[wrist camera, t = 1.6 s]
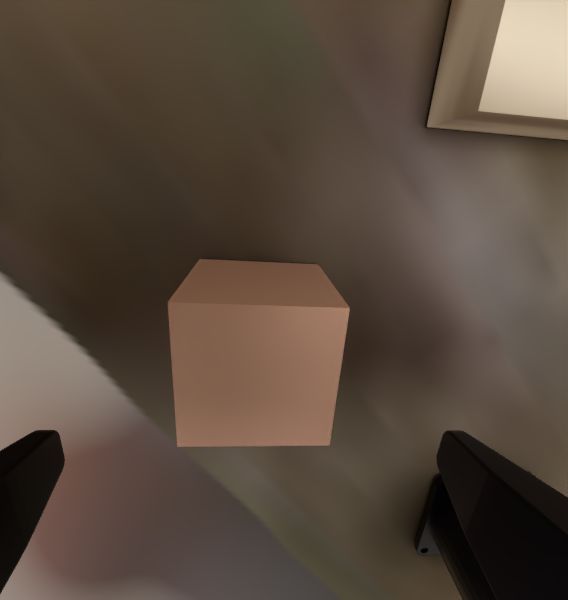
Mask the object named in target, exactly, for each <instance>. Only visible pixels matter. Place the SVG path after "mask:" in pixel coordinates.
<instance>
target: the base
mask: <svg viewBox="0 0 568 600" xmlns="http://www.w3.org/2000/svg"><path fill="white" fill-rule="evenodd" d="M427 127H431V128H442V129H453V130H464V131H475V132H486V133H497V134H507V135H518V136H529V137H540V138H551V139H562V140H568V0H452V3H451V8H450V13H449V18H448V23H447V28H446V33H445V38H444V43H443V48H442V53H441V58H440V63H439V68H438V73H437V78H436V83H435V88H434V93H433V98H432V103H431V108H430V113H429V118H428V123H427Z"/></svg>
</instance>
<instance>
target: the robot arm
mask: <svg viewBox="0 0 568 600" xmlns="http://www.w3.org/2000/svg"><path fill="white" fill-rule="evenodd" d="M64 461H65V458H64V453H63V448H62V444H61V440H60V435H59V433H58V432H57V431H55V430H37V431H34V432H32V433H30V434H28V435H27V436H25V437H23V438H22V439H20V440H18V441H16V442H15V443H13V444H11V445H9V446H8V447H6V448H4V449H2V450H1V451H0V594H1V592H2V590H3V588H4V586H5V585H6V583H7V581H8V579H9V578H10V576H11V574H12V572H13V570H14V569H15V567H16V565H17V564H18V562H19V560H20V558H21V556H22V554H23V553H24V551H25V549H26V547H27V545H28V543H29V541H30V539H31V537H32V535H33V533H34V531H35V529H36V526H37V524H38V522H39V520H40V518H41V516H42V513H43V511H44V509H45V507H46V505H47V502H48V500H49V498H50V496H51V494H52V492H53V489H54V487H55V485H56V483H57V481H58V479H59V476H60V474H61V472H62V470H63V467H64ZM437 465H438V468H439V471H440V473H441V476H440V477H438V478H437V479H435V481H434V483H433V486H432V490H431V493H430V496H429V499H428V502H427V505H426V508H425V512H424V515H423V518H422V521H421V524H420V527H419V530H418V534H417V537H416V540H415V543H414V547H415V549H416V552H417V554H418V555H421V556H427V555H441V556H442V558H443V560H444V562H445V564H446V566H447V568H448V570H449V572H450V574H451V576H452V578H453V580H454V582H455V585H456V587H457V589H458V591H459V593H460V595H461V597H462V599H463V600H568V497H566V496H565V495H563V494H561V493H560V492H558V491H557V490H555V489H554V488H552V487H550V486H549V485H547V484H546V483H544V482H543V481H541V480H539V479H538V478H536V477H535V476H534V475H532V474H530V473H528V472H527V471H525V470H524V469H522V468H521V467H519V466H517V465H516V464H514V463H513V462H511V461H510V460H508V459H506V458H505V457H503V456H502V455H500V454H499V453H497V452H495V451H494V450H492V449H491V448H489V447H488V446H486V445H484V444H483V443H481V442H480V441H478V440H477V439H475V438H473V437H472V436H470V435H469V434H467V433H466V432H464V431H446V432H445V433H444V434H443V436H442V440H441V443H440V446H439V450H438V453H437Z"/></svg>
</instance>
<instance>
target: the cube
mask: <svg viewBox="0 0 568 600" xmlns="http://www.w3.org/2000/svg"><path fill="white" fill-rule="evenodd" d="M349 311H350V308H349V306H348V305H347V303H346V302H345V301H344V299H343V298H342V296H341V295H340V294H339V292H338V291H337V289H336V288H335V287H334V285H333V284H332V282H331V281H330V280H329V278H328V277H327V276H326V274H325V273H324V271H323V270H322V269H321V267H320V266H319V264H300V263H278V262H256V261H234V260H212V259H199V261H198V262H197V263H196V265H195V266H194V267H193V269H192V270H191V271H190V273H189V274H188V275H187V277H186V278H185V279H184V281H183V282H182V283H181V285H180V286H179V288H178V289H177V290H176V292H175V293H174V294H173V296H172V297H171V298H170V300H169V301H168V315H169V330H170V345H171V360H172V375H173V390H174V405H175V419H176V434H177V447H217V446H324V445H330V439H331V432H332V426H333V419H334V412H335V405H336V399H337V392H338V385H339V378H340V371H341V365H342V358H343V351H344V344H345V338H346V331H347V324H348V317H349Z"/></svg>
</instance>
